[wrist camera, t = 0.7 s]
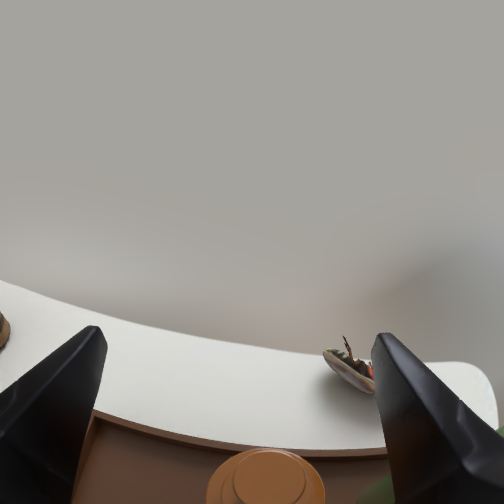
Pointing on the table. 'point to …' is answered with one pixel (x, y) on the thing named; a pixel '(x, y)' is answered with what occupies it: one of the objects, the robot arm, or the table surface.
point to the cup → (4, 330)
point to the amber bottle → (265, 480)
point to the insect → (351, 369)
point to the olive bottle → (386, 488)
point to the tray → (193, 465)
